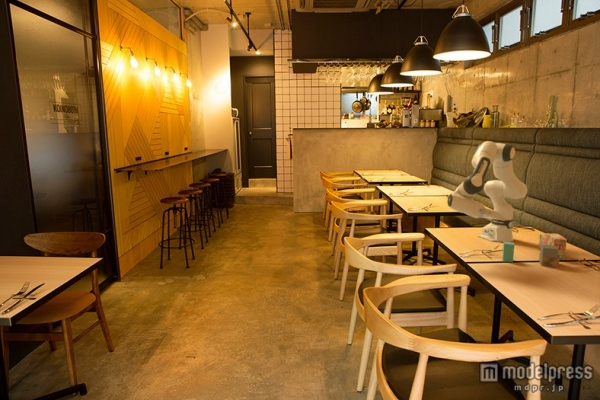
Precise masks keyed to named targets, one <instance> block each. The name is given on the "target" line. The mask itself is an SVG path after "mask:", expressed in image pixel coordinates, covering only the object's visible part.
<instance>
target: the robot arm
mask: <svg viewBox="0 0 600 400" xmlns="http://www.w3.org/2000/svg"><path fill="white" fill-rule="evenodd" d="M515 156H516V149H515V147H514V146H513V145H512V144H510V143H501V142H493V141H490V140H486V141H484V142H481V143H480V144H479V145H477V146H476V149H475V153H474V154H473V156H472V159H471V165H472V167H473V168H474V169H473V172H472V173H471V174H470V175H468V176H467V177H466V178H465V179H464V180H463V181H462V182H461V183H460V184H459V185H457V187H456V189H455V190H454V191H453V192H452V193H450V194H449V195H448V197H447V201H446V203H447V206H448V207H449V208H450V209H452V210H454V211H456V212H458V213H461V214H465V215H467V216H469V217H472V218H474V219H479V218H482V219H483V218H484V219H489V220H490V223H487V224H486V225H485V226H483V227H482V228H481V232H480V233H478V234H477V237H479V238H482V239H485V240H487V241H490V242H500V243H501V242H502V243H503V242H514V236H513V225H514V217H513V214H514V207H513V206H512V205H511V204H510V203H508V202H507V201H506V200H505V199H514V200H515V199H516V200H517V199H524V197H526V195H527V194H528V187H527V186H528V185H526V184H525V183H524V182H522V180H520V179H518V177H517V176H516V175H515V171H514V168H513V167H514V166H513V160H514V158H515ZM491 167H492V170H493V176H494V178H497V179H494V180H488V181H487V182H485V177H486V175H487V173H488V170H490V169H489V168H491ZM483 190H484V193H485V195H486V196H487V197H489V198H490V200H491V202H492V204H493V209H491V208H490V209H489V208H486V206H485V205H484V203H482V202H481V201H478V200H477V201H476V200H474V197H475V196H476V195H478V194H479V193H481V192H482V191H483Z"/></svg>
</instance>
